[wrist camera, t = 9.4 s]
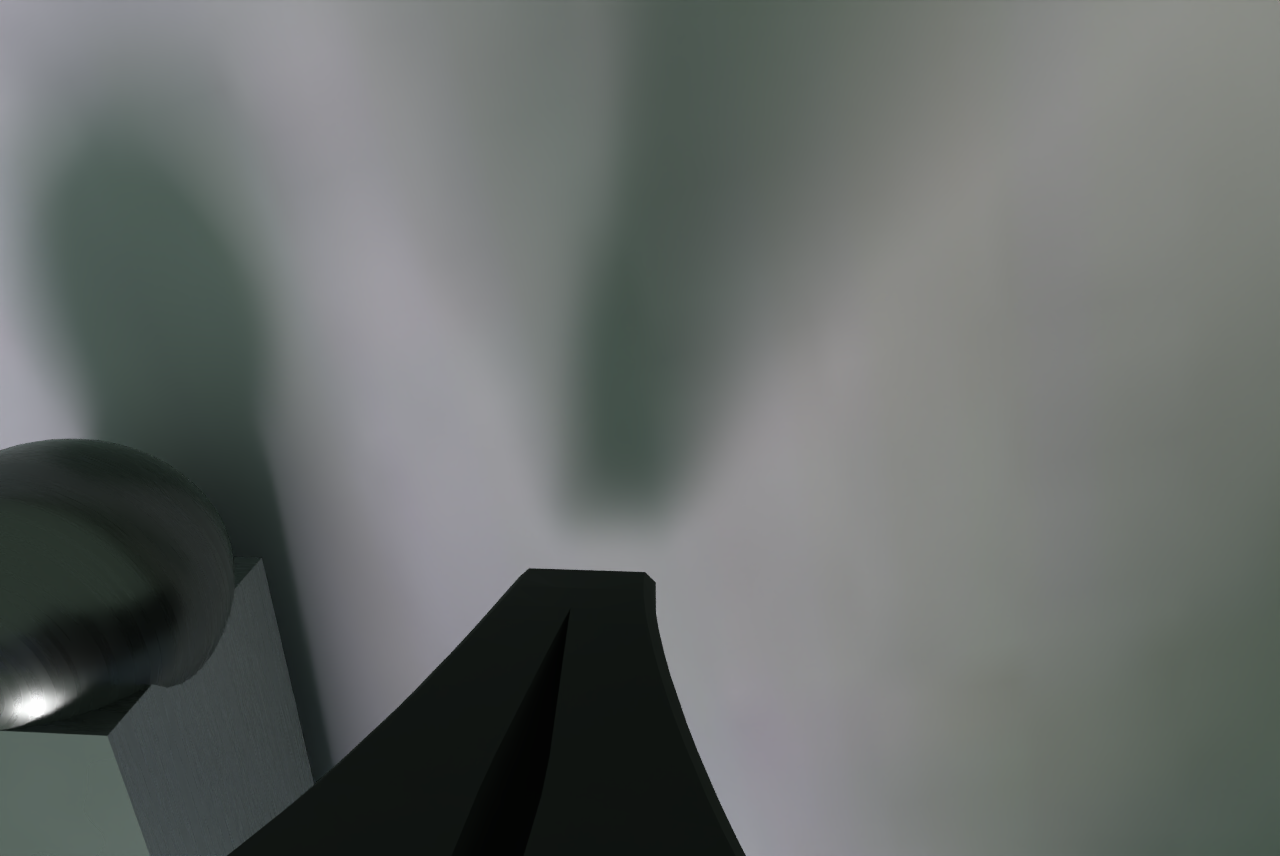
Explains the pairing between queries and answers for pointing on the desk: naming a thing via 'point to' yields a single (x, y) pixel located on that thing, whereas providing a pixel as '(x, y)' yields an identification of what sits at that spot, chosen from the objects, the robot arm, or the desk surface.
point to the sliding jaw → (134, 664)
